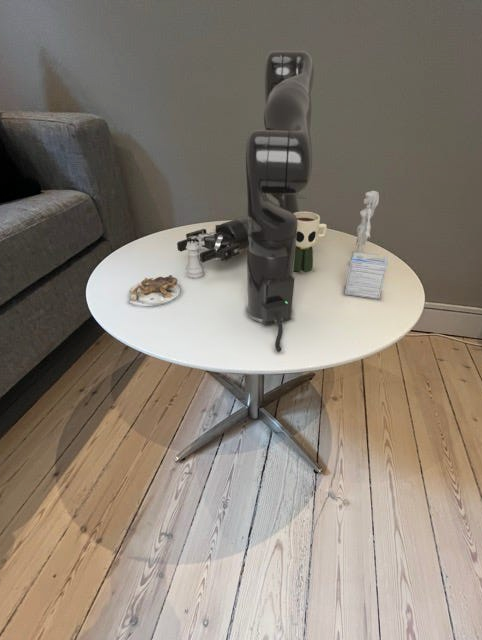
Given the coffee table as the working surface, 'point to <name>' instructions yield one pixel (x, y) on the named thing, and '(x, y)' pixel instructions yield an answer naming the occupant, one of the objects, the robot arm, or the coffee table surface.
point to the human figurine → (366, 213)
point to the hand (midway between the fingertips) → (189, 252)
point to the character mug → (307, 239)
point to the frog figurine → (154, 291)
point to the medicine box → (366, 275)
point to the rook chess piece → (193, 261)
